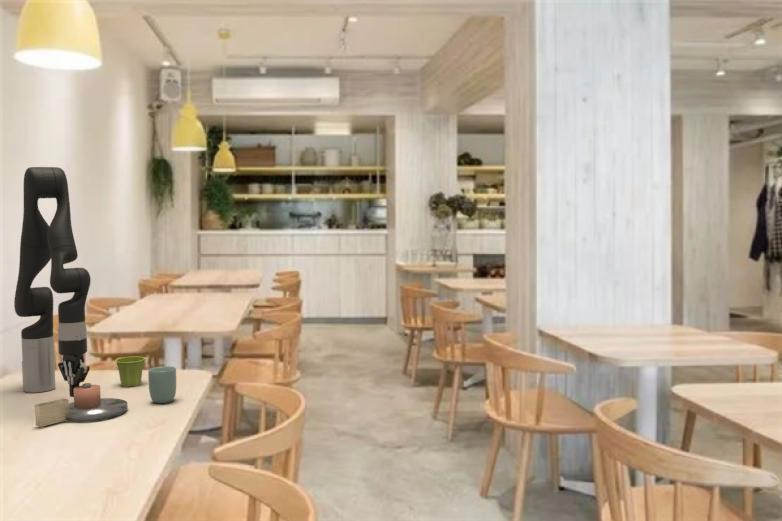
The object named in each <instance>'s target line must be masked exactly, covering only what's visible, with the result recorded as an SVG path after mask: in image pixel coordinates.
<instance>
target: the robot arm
mask: <svg viewBox="0 0 782 521" xmlns="http://www.w3.org/2000/svg"><path fill="white" fill-rule="evenodd" d="M68 185H69V184H68V180H67V175H66V173H65V171H64V169H63V168H61V167H56V166H55V167H54V166H32V167H28V168H26V170H25V171H24V175H23V215H22V216H23V218H22V224H21V225H22V227H21V233H20V234H21V236H20V244H19V245H20V246H19V264H18V265H19V266H18V277H17V282H16V287H15V292H14V293H15V294H14V301H13V302H14V305H13V306H14V311H15V312H14V313H15V314H16V315H17V316H18V317H20V318H28V317H30V318H31V317H39V319H38V320H37V321H36V322H33V324H30V325H29V326H26V327H24V328H22V329H21V334H20V336H21V357H22V361H21V367H22V368H21V370H22V371H21V373H22V390H23V392H25V393H29V394H30V393H33V394H34V393H44V392H49V391H52V390H55V389H56V370H55V369H56V368H55V367H56V366H55V348H54V347H55V346H54V345H55V344H54V342H55V341H54V295H53V292H55V293H57V294H71V293H73V294H72V295H73V296H72V297H71V298H70V299H67V300H65V301H61V302H59V303H58V306H57V313H58V315H57V318H58V319H57V320H58V327H57V338H58V339H57V340H58V345H57V346H58V354H59V355H60V356H62V361H61V362H58V363H57V367H58V369H59V372H60V373H61V376H62V378H63V380H64V382H67V384H68V385H69V386H68V387H69V397H71V398H74V392H73V389H74V388H75V387H78V386H80V384H81V383H84V382H85V380H86V379H87V376H88V374H89V372H90V369H91V367H90V366H89V365H85V357H84V355H85V354H86V353H87V352H88V337H87V336H88V334H87V333H88V332H87V331H88V330H87V325H86V324H87V323H86V303H87V298H88V294H89V290H90V286H91V275H90V272H89V270H87V269H86V268H84V267H70V268H69V267H68V268H64V265H67V264H70V263H73V262H75V261H76V260H77V258H78V254H79V253H78V250H77V245H76V240H75V236H74V234H73V233H74V232H73V228H72V215H71V207H70V206H71V204H70V194H69V193H70V192H69V186H68ZM40 199H55V200H56V211H55V213H54V216H53V218H52V221H51V222H50V224H49V223H48V222H47V221H46V219H45V218H44V217H43V215H42V213H41V211H40V210H39V203H38V202H39V200H40ZM49 262H50V263H51V265H50V275H49V276H50V277H49V284H50V287H49V286H36V287H32V284H33V282H34V280H35V279H36V277H37V276H38V275H39V273H40V272H41V271H42V270H43V269H44V268H45V267H46V266H47V265H48V263H49Z"/></svg>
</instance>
